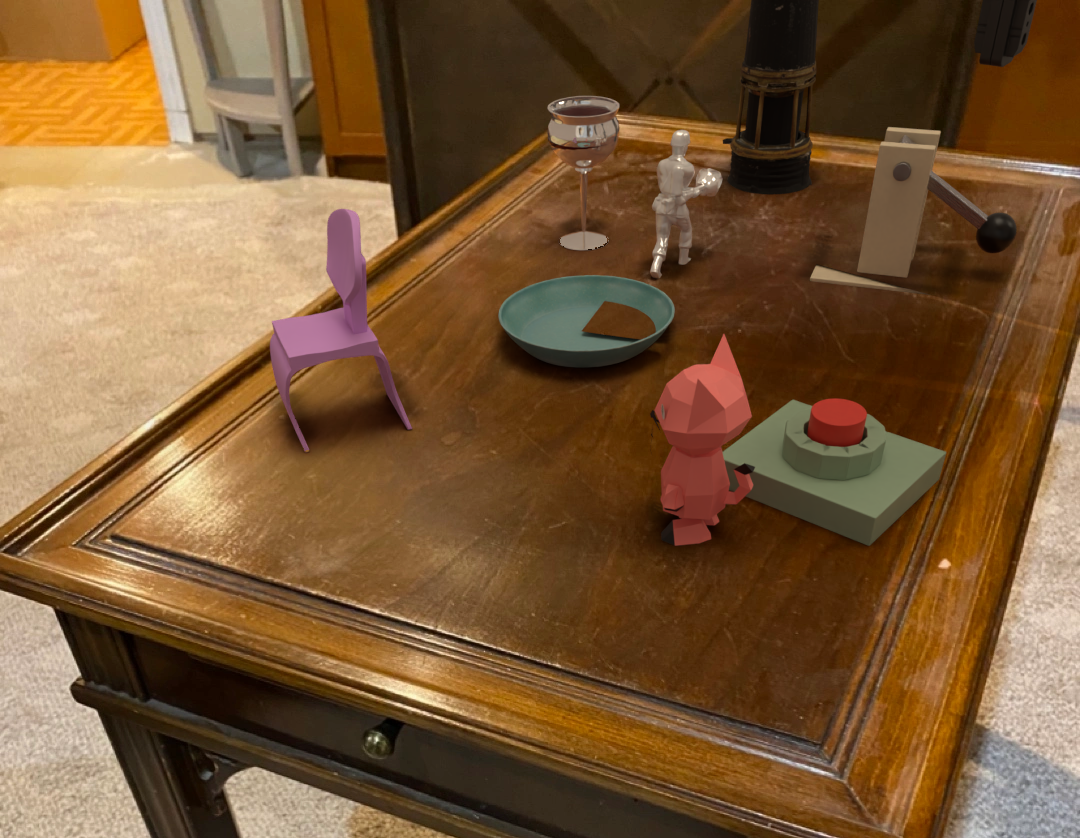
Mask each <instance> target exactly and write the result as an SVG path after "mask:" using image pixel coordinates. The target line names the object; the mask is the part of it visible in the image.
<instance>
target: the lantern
mask: <svg viewBox="0 0 1080 838" xmlns="http://www.w3.org/2000/svg"><path fill="white" fill-rule="evenodd" d="M819 1H820V0H750V9H749V16H748V17H749V19H748V26H747V33H746V34H747V35H746V46H745V51H744V58H743V61H742V64H741V67H740V74H739V75H740V76H739V82H738V83H739V84H740V85H741V86H740V94H739V95H740V96H739V104H738V111H737V120H736V130H735V135H734V136H733V137H726V138H724V139H722V144H723V145H729V147H730V150H731V152H730V154H731V155H730V156H731V157H730V169H729V175H727V177H726V178H727V179H726V181H727V183H728V185H730V186H731V187H733V188H734V189H737V190H740V191H742V192H746V193H750V194H756V195H770V196H771V195H784V194H791V193H792V194H793V193H796V192H800V191H803V190H805V189H806V188H808V187H809V186H812V184H813V183H812V179H811V177H810V166H811V165H810V164H811V163H810V162H811V155H812V149H813V141H812V140H811V136H810V132H811V131H810V130H811V117H812V101H813V85H814V83H815V82H816V80H817V79H816V77H817V61H816V50H817V36H818V35H817V34H818V33H817V32H818V20H819V19H818V18H819ZM806 88H807V99H806V100H807V102H806V116H805V117H806V119H805V127H804V131H802V130H800V122H801V116H802V115H801V114H802V106H803V101H804V99H803V98H804V91H805V89H806ZM746 89H747V90H748V97H747V98H748V99H747V108H746V117H745V128H744V129H745V130H742V117H743V110H744V103H745V95H746ZM741 130H742V131H741Z"/></svg>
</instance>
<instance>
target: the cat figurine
mask: <svg viewBox="0 0 1080 838" xmlns="http://www.w3.org/2000/svg"><path fill="white" fill-rule="evenodd" d="M649 415H650V418H652V419H653V421H654V423H655V424H656V426H657V428H658V430H659V431H660V434H661V433H662V432H661V429H662V431H663V434H664V435H665V438H666V440H667V443H668V444H669V445H671V446H672V447H671V448H670V451H669V453H668V455H667V457H666V459H665V461H664V464H663V465H662V467H661V469H660V485H661V486H660V487H661V488H660V490H661V496H660V502H661V506H662V511H663V512H665V513H667V514H671V515H674V516H677V517H678V518H677V519H672V520H671V521H670V522H669V524H667V526H666V527H665V528H664V529H663V530H662V531H661V532H660V537H661V539H660V540H661V541H663V542H664V543H668V544H670V545H672V546H686V545H695V544H697V545H698V544H701V543H704V542H707V541H710V540H712V533H711V531H710V530H709V528H708V526H716V525H717V524H719V523H720V519H719V517H718V514H719V513H721V511H723V510H725V509H726V505H738V504H739V503H740V502H741V501H742V500H743V499H744V498H746V495H747V494H748V493H749V492H750V491H751V489H752V487H753V483H752V480H751V478H750V475H749V473H752V472H753V471H754V469H755V467H754V466H751V465H749V464H746V463H744V464H742V465H740V466H739V467H737V468H735V469H734V472H735V475H736V478H737V480H738V483H739V487H738V488H737V489H736V491H735V492H733V491H731V490H729V486H730V481H729V477H728V474H727V470H726V466H725V461H724V457H723V448H722V447H723V446H724V445H725V444H727V443H728V442H730V441H731V440H733V439H734V438H736V437H738V436H739V435H740V434H741V433H742V432H743V431H744V429H745V427H746V426H747V424H748V423H749V421H750V420H751V419H752V417H753V415H752V412H751V407H750V403H749V400H748V395H747V392H746V389H745V386H744V382H743V379H742V376H741V373H740V371H739V369H738V366H737V363H736V360H735V358H734V355H733V352H732V350H731V347H730V345H729V342H728V340H727V337H726V334H725V333H723V334H722V337H721V339H720V341H719V344H718V345H717V348H716V350H715V352H714V355H713V357H712V359H711V361H710V363H701V364H700V363H699V364H697V363H696V364H693V365H691V366H688V367H687V368H684V369H683V370H681V371H680V372H679V373H677V374H676V375H675V376H674V377H672V379H670V380H669V381H668V382H666V384H665V386H664V388H663V390H662V393H661V395H660V397H659V400H658V401H657V404H656V406H655V407H654V409H652V410H651V412H650V413H649ZM659 424H660V426H659ZM660 427H661V429H660ZM651 429H654V426H652V428H651ZM653 433H654V431H653V430H651V431H650V436H651V438H654V436H653ZM652 440H653V439H651V440H650V443H652V442H653V441H652ZM649 447H650V449H649V450H650V454H651V455H653V454H652V451H651V448H652V446H649Z"/></svg>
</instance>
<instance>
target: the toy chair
mask: <svg viewBox="0 0 1080 838" xmlns="http://www.w3.org/2000/svg"><path fill="white" fill-rule="evenodd" d="M326 224H327V225H326V238H327V239H326V241H327V243H326V244H327V245H326V248H327V249H326V250H327V251H326V266H325V267H326V268H325V271H326V273H327V275H328V278H329V279H330V282H331V284H332V286H333V287H334V289H335V291H336V292H337V294H338V295H339V297H340V298H341V300H342V305H343V307H339V308H336V309H332V310H328V311H324V312H320V313H319V312H318V313H314V314H309V315H303V316H292V317H286V318H280V319H275V320H271V325H272V329H273V334H272V335H271V337H270V340H269V341H270V342H269V351H270V361H271V367H272V372H273V376H274V381H275V385H276V387H277V390H278V393H279V396H280V398H281V401H282V403H283V405H284V408H285V410H286V413H287V415H288V416H289V419H290V422H291V424H292V426H293V429H294V430H295V433H296V435H297V438H298V439H299V443H300V445H301V446H302V448H304V449H303V452H305V451H306V450H310V448H309V446H308V444H307V441H306V439H305V436H304V434H303V432H302V430H301V427H300V425H299V423H298V420H297V418H296V416H295V414H294V411H293V409H292V406H291V400H290V386H291V381H292V377H293V376H294V375H295V374H296V373H297V372H299V371H301V370H302V369H303V370H304V369H307V368H310V367H315V366H318V365H320V364H323V363H328V362H331V361H336V360H342V359H350V358H360V357H367V356H373V357H374V360H375V363H376V366H377V369H378V371H379V374H380V377H381V380H382V384H383V386H384V390H385V393H386V395H387V397H388V398H389V400H390V403H391V404H392V406H393V407H394V409H395V410H396V413H397V414H398V416H399V418H400V419H401V421H402V423H403V424H404V426H405V428H406V429H407V430H408V431H410V430H413V426H412V424H411V422H410V420H409V417H408V415H407V414H406V413H407V412H406V411H405V408H404V405H403V404H402V401H401V399H400V396H399V393H398V391H397V389H396V385H395V381H394V379H393V374H392V371H391V367H390V363H389V360H388V358H387V357H386V354H385V353H384V352H383V350H382V348H381V346H380V344H379V339H378V338H377V336H376V335H375V333H374V331H373V330H372V328H370V326H369V324H368V305H367V304H368V300H367V299H368V297H367V295H368V294H367V291H368V290H367V260H366V258H365V256H364V255H363V253H362V237H361V236H362V235H361V219H360V217H359V215H358V213H357V212H356V210H355V211H354V210H352V209H349V208H338V209H335V210H334V211H332V212H331V213H330V215H329V216H328V219H327V223H326ZM295 418H296V419H295ZM299 427H300V428H299Z"/></svg>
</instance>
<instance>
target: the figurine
mask: <svg viewBox="0 0 1080 838" xmlns="http://www.w3.org/2000/svg"><path fill="white" fill-rule="evenodd" d="M690 144H691V136H690V132H689V131H688V130H685V129H678V130H675V131H674V132H673V133H672V135H671V139H670V146H671V155H670V156H669V157H667V158H665V159H661V160H660V161H659V162H658V165H657V167H656V175H657V176H656V177H657V185H658V188H659V191H660V193H658V195H657V196H656V197H655V198H654V200H653V202H652V204H651V209H652V211H653V212H655V233H656V242H655V245H654V247H653V250H652V254H651V255H652V258H653V261H652V263H651V266H650V271H649V274H650V276H651V278H653V279H660V278H661V277H662V276H663V274H662V273H661V267H662V264H663V262H665V261H666V257H667V253H668V247H669V239H670V236H671V232H672V231H671V230H672V227H673V226H675V227H677V229H678V230H679V237H678V239H679V240H678V245H677V246H678V248H679V254H678V263H677V264H678V265H687V264H688V263H689V262H690V261H691V259H692V258H691V257H689V253H690V249H691V248H692V247H693V244H692V241H693V225H692V221H691V217H690V210H689V207H688V205H687V202H688V201H689V200H690V199H696V198H698V197H699V196H700V197H705V196H707V197H716V195H717V193H718V192H719V190H720V188H721V186H722V183H723V176H722V173H721V172H720V171H719V170H716V169H713V168H711V167H710V168H701V169H700V170H699V171H698V173H697V175H696V177H695V187H693V186H692V187H691V186H690V184H691V182H692V181H693V179H694V176H695V173H696V172H695V171H696V170H695V167H694V164H692V162H690V161H688V160H687V159H686V158H685V156H686V153H687V151H688V149H689V148H688V147H689V145H690Z"/></svg>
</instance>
